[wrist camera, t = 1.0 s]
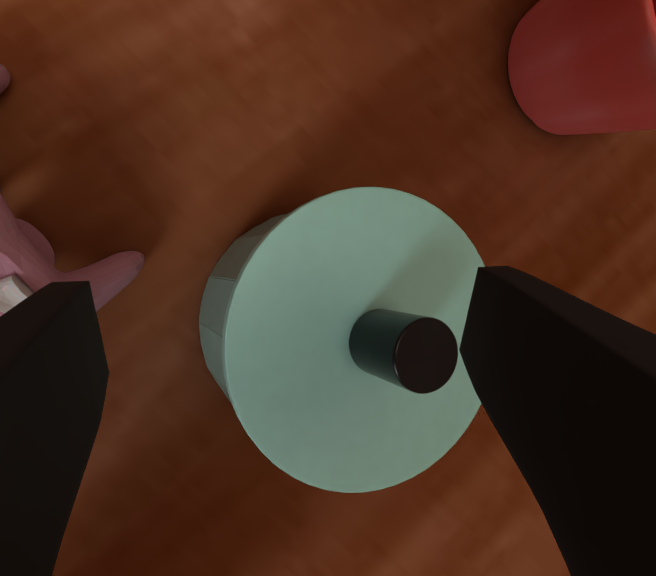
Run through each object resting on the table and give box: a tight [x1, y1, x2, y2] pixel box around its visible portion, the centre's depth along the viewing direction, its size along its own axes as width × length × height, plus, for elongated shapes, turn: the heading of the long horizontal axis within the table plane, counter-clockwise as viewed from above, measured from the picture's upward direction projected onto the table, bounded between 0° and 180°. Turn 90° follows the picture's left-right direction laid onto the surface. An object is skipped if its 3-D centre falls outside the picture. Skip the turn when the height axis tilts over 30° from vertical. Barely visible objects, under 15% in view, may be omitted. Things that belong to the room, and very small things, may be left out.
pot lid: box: [222, 187, 485, 493], centre depth 18 cm, size 11×11×4 cm
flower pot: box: [508, 0, 656, 135], centre depth 27 cm, size 11×11×10 cm
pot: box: [199, 213, 289, 402], centre depth 23 cm, size 10×10×7 cm
